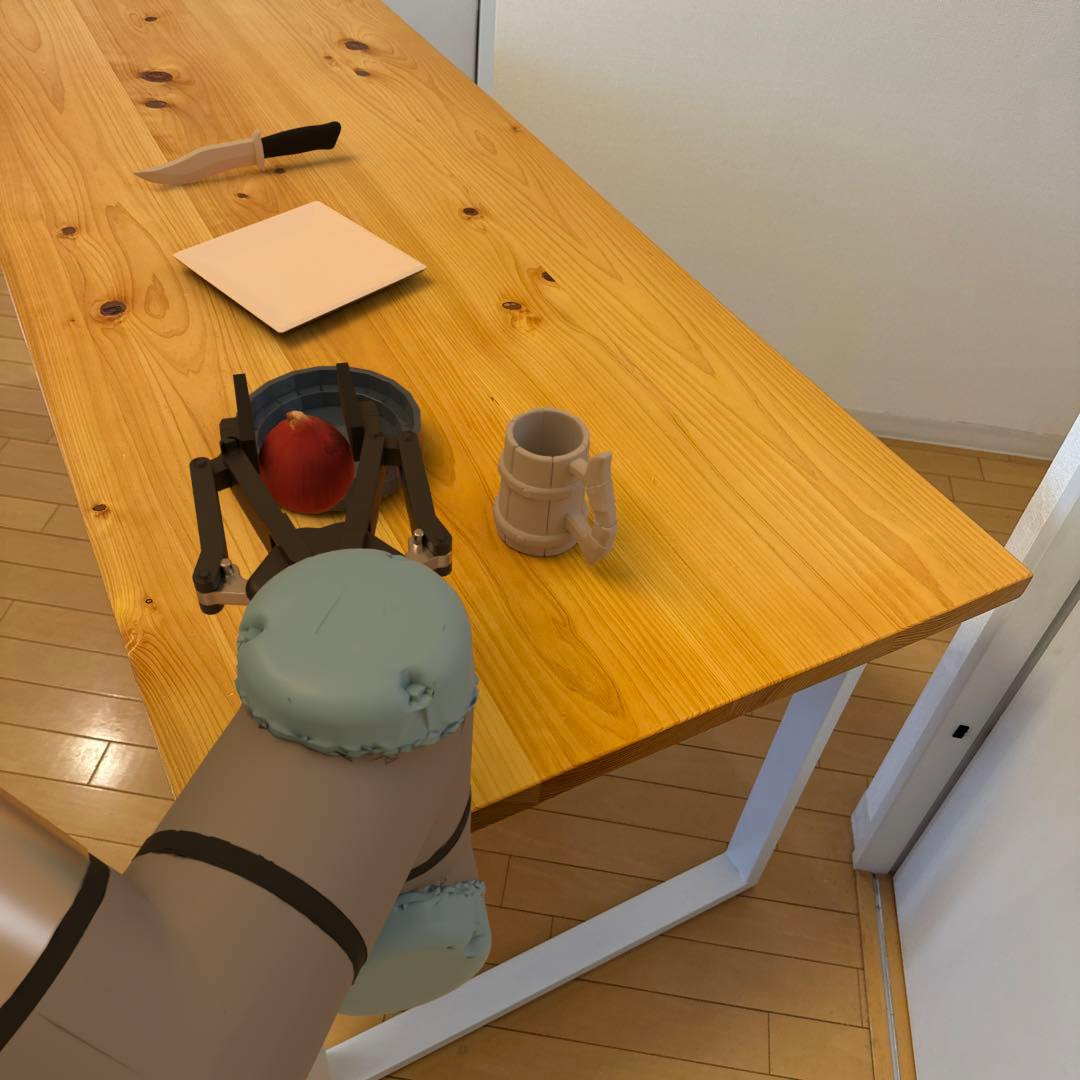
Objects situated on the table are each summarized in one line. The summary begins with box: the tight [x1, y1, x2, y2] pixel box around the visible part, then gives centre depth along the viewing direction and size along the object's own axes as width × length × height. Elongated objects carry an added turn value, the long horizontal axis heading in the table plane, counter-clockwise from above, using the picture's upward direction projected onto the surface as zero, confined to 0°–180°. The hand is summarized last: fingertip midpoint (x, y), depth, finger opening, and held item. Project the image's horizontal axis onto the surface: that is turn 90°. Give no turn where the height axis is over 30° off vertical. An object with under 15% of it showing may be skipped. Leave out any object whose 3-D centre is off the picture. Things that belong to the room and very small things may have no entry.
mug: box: [492, 406, 619, 566], centre depth 77 cm, size 8×12×12 cm, turn 40°
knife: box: [132, 120, 342, 186], centre depth 119 cm, size 25×2×5 cm, turn 118°
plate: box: [172, 200, 427, 335], centre depth 105 cm, size 19×19×2 cm
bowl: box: [235, 365, 423, 512], centre depth 85 cm, size 15×15×4 cm
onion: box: [258, 411, 355, 515], centre depth 62 cm, size 6×6×8 cm
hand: (293, 386), depth 64 cm, fingers closed on onion, 6 cm apart
